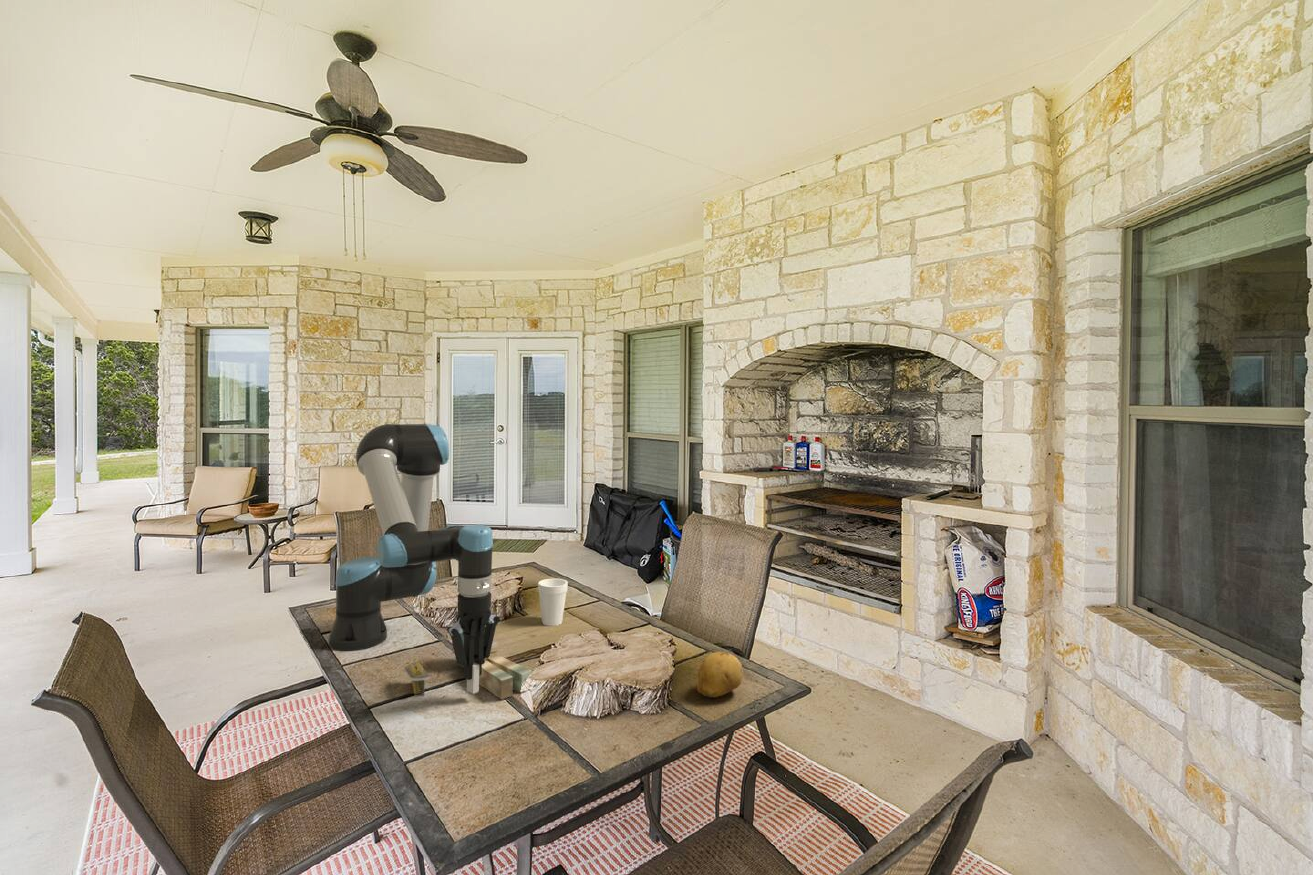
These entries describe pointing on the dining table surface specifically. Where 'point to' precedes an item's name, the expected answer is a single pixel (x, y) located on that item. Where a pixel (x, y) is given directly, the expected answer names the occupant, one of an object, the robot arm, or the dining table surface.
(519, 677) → the tan green block
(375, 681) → the dining table surface
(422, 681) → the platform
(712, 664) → the potato
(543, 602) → the foam cup
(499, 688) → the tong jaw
